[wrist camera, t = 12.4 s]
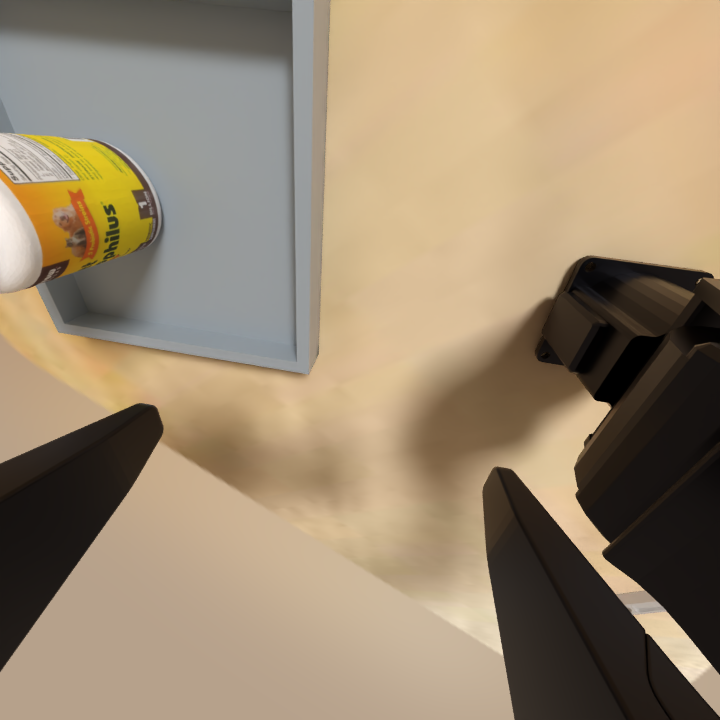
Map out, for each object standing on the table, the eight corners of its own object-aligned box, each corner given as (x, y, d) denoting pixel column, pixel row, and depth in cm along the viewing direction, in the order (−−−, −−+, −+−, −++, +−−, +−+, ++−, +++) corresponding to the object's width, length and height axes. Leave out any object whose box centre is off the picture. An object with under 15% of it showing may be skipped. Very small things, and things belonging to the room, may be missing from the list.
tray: (330, -8, 13) (314, -40, 11) (318, 354, 23) (308, 374, 20) (-59, -43, 14) (-142, -78, 12) (89, 317, 24) (58, 332, 22)
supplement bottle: (147, 267, 20) (-50, 348, 12) (60, 199, 18) (-242, 234, 10) (183, 197, 17) (-36, 235, 9) (86, 110, 16) (-295, 55, 7)
